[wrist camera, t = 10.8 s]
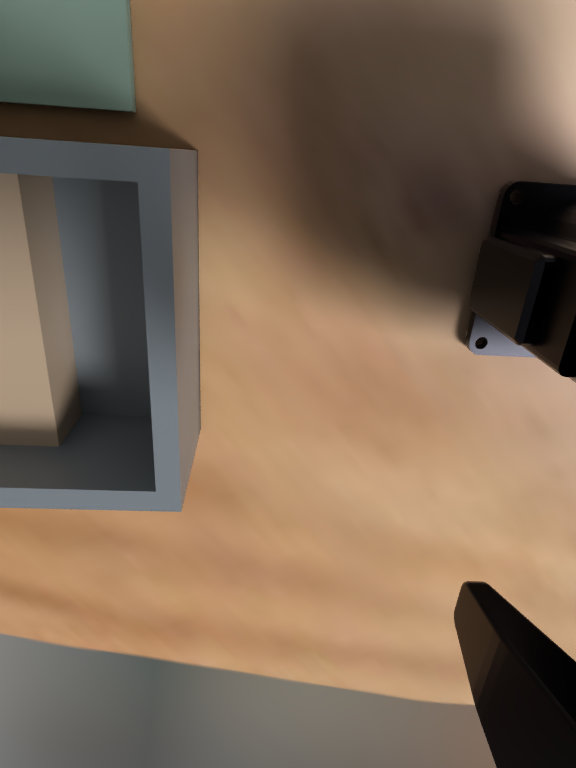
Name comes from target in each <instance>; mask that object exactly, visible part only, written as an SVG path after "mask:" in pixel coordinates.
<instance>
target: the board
mask: <svg viewBox="0 0 576 768" xmlns="http://www.w3.org/2000/svg"><path fill="white" fill-rule="evenodd" d="M0 102H5V103H18V104H31V105H44V106H57V107H70V108H83V109H97V110H110V111H123V112H136V102H135V85H134V67H133V50H132V32H131V14H130V0H0Z"/></svg>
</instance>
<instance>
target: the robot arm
mask: <svg viewBox="0 0 576 768" xmlns="http://www.w3.org/2000/svg"><path fill="white" fill-rule="evenodd" d="M516 189H517V190H518V191H519V198H518V200H517V201H516V202H514V203H512V202H511V201H510V196H511V194H512V192H513V191H514V190H516ZM469 307H470V308H471V310H472V313H471V318H470V322H469V326H468V331H467V335H466V342H465V344H466V346H467V348H468V349H469V350H470V351H471V352H473V353H474V354H477V355H493V356H515V357H537V358H538V359H540V360H541V361H542V362H544V363H545V364H546V365H548V366H549V367H550V368H552V369H553V370H554V371H556V372H557V373H558V374H560V375H561V376H564V377H569V378H570V379H572V380H573V381H574V382H576V185H567V184H553V183H539V182H525V181H511V182H509V183H507V184H505V185H504V187H503V188H502V189H501V191H500V193H499V196H498V200H497V205H496V209H495V213H494V218H493V222H492V226H491V231H490V235H489V237H488V238H487V239H486V240H484V241H483V243H482V247H481V251H480V255H479V260H478V264H477V269H476V273H475V278H474V282H473V286H472V291H471V295H470V300H469ZM481 337H484V340H483V342H482V344H480V345H477V346H475V342H476V340H477V339H479V338H481ZM454 622H455V627H456V631H457V635H458V639H459V643H460V647H461V651H462V655H463V659H464V663H465V667H466V671H467V675H468V679H469V683H470V687H471V692H472V695H473V699H474V703H475V706H476V710H477V713H478V716H479V718H480V722H481V725H482V727H483V730H484V733H485V736H486V739H487V742H488V744H489V747H490V750H491V753H492V756H493V759H494V761H495V764H496V767H497V768H576V661H575V660H573V659H572V658H571V657H570V656H569V655H568V654H567V653H565V652H564V651H563V650H562V649H561V648H560V647H559V646H558V645H556V644H555V643H554V642H553V641H552V640H551V639H550V638H549V637H547V636H546V635H545V634H544V633H543V632H542V631H541V630H540V629H538V628H537V627H536V626H535V625H534V624H533V623H532V622H531V621H529V620H528V619H527V618H526V617H525V616H524V615H523V614H521V613H520V612H519V611H518V610H517V609H516V608H515V607H514V606H512V605H511V604H510V603H509V602H508V601H507V600H506V599H505V598H503V597H502V596H501V595H500V594H499V593H498V592H497V591H496V590H494V589H493V588H492V587H491V586H490V585H489V584H487V583H485V582H480V581H467V582H464V583H463V584H462V587H461V590H460V593H459V597H458V600H457V603H456V607H455V611H454Z"/></svg>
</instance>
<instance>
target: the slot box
mask: <svg viewBox="0 0 576 768" xmlns="http://www.w3.org/2000/svg"><path fill="white" fill-rule="evenodd" d="M200 429H201V420H200V331H199V242H198V153H197V150H187V149H173V148H159V147H145V146H131V145H117V144H103V143H89V142H75V141H61V140H47V139H33V138H19V137H5V136H0V508H43V509H86V510H129V511H172V512H181V511H182V506H183V502H184V498H185V493H186V489H187V485H188V481H189V476H190V472H191V468H192V463H193V459H194V455H195V451H196V446H197V442H198V438H199V433H200Z"/></svg>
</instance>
